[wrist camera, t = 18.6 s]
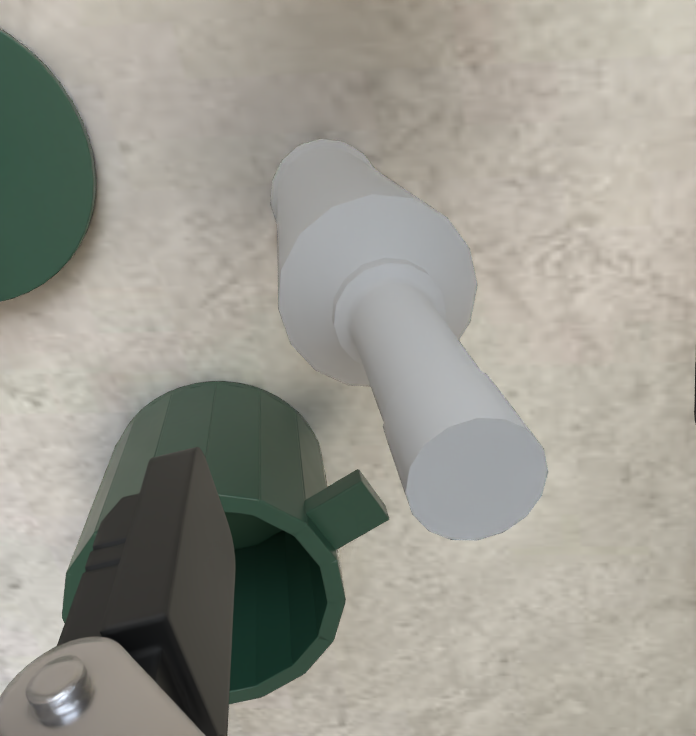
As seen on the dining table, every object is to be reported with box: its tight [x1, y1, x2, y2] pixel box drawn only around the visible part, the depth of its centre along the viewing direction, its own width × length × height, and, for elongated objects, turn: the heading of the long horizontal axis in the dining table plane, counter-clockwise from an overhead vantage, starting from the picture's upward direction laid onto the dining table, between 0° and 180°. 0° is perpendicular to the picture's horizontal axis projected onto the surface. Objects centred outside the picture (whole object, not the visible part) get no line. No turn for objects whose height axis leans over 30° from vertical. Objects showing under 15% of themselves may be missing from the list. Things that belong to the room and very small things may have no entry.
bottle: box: [271, 139, 548, 540], centre depth 21 cm, size 5×5×25 cm
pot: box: [42, 381, 389, 704], centre depth 33 cm, size 12×17×10 cm
